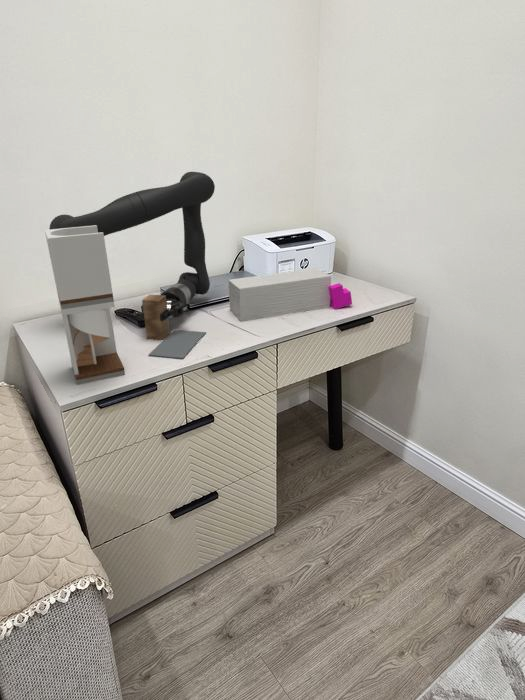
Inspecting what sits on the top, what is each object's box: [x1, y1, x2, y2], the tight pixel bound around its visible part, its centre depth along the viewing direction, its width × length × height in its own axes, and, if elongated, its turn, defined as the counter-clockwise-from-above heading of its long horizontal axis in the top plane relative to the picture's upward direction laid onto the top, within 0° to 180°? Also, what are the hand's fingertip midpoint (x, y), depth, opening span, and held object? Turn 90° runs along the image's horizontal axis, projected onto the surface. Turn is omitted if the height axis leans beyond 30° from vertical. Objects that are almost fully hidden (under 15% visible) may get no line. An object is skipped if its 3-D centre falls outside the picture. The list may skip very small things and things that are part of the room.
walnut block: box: [141, 294, 171, 341], centre depth 140 cm, size 5×5×12 cm
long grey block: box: [228, 267, 332, 322], centre depth 161 cm, size 32×11×11 cm, turn 112°
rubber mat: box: [147, 329, 207, 360], centre depth 137 cm, size 10×18×1 cm, turn 166°
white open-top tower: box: [44, 225, 126, 385], centre depth 116 cm, size 11×11×35 cm
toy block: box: [329, 282, 353, 310], centre depth 167 cm, size 15×6×8 cm, turn 16°
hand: (152, 317), depth 138 cm, fingers closed on walnut block, 5 cm apart
